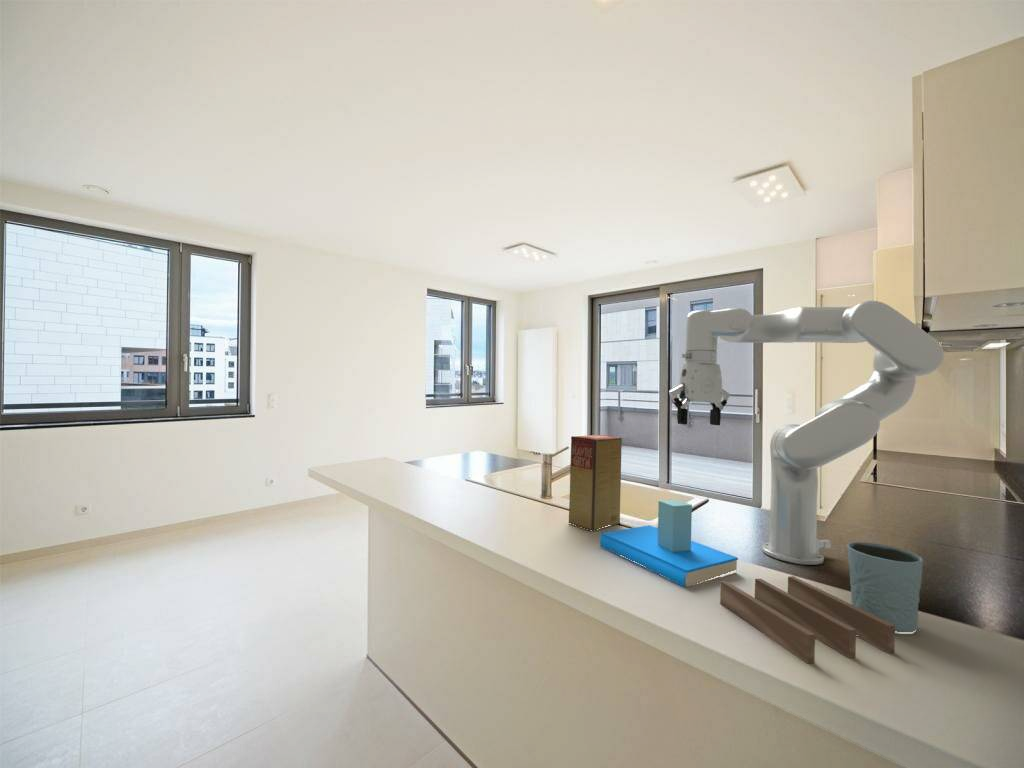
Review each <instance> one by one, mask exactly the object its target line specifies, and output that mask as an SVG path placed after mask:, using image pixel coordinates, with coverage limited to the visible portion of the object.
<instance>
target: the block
mask: <svg viewBox="0 0 1024 768" xmlns="http://www.w3.org/2000/svg"><path fill="white" fill-rule="evenodd" d="M692 509H693V505H692V504H690V503H688V502H685V501H682V500H678V499H666V500H665V499H663V500H658V511H657V512H658V513H657V519H658V520H657V528H658V545H659V546H661V547H663V548H665V549H667V550H669V551H671V552H679V551H688V550H691V541H692V515H693V514H692V513H693V510H692Z"/></svg>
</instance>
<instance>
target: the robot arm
mask: <svg viewBox="0 0 1024 768" xmlns="http://www.w3.org/2000/svg"><path fill="white" fill-rule="evenodd" d="M685 330H686V331H685V332H686V333H685V335H686V336H685V337H686V338H685V352H684V353H682V354H681V358H682V359H684V361H685V363H683V364H682V366H681V373H680V378H679V385H678V386H676V387H675V388H672V389H671V390H670V389H669V391H668V394H669V397H670V399H671V402H672V403H673V404H674V407H675V408H676V409H677V413H676V416H677V417H676V420H677V424H678V425H685V426H686V425H688V409H687V407H688V406H689V404H690V403H692V402H695V403H708V404H709V405H710V407H711V408H712V409H710V411H709V424H710V425H712V426H721V421H722V419H721V417H722V416H721V414H722V413H721V412H722V411H723V410H724V407H725V406H726V405H727V403H728V400H729V398H730V396H731V394H730V392H728V391H726V390H725V389H723V377H722V371H721V370H722V369H721V366H720V364H717V363H718V361H717V360H718V338H720V339H721V340H722V341H725V342H728V343H734V344H735V343H736V344H737V343H739V344H740V343H742V344H743V343H744V344H747V343H749V344H760V343H761V344H762V343H763V344H765V343H770V344H771V343H777V344H778V343H783V344H784V343H785V344H786V343H787V344H788V343H789V344H791V343H830V344H831V343H832V344H837V343H838V344H857V343H858V344H859V343H864V342H867V343H868V344H869V345H870V346H872V347H873V349H875V350H876V353H875V354H874V356H873V371H872V374H871V377H870V378H869V380H867V381H866V382H864V383H863V384H862V385H860V386H858V387H857V388H855V389H853V390H851V391H850V392H848V393H846V394H844V395H842V396H841V397H839V398H836V399H835V400H832V401H830V402H828V403H826V404H824V405H823V406H822V407H820V408H819V409H818V411H817V412H816V413H815V417H814V418H812V419H810V420H808V421H807V422H804V423H803V424H796V423H795V424H794V423H793V424H792V423H790V424H785V425H782V426H781V427H778V429H776V430H775V431H774V432H773V434H772V436H771V439H770V443H769V444H770V445H769V449H770V450H769V453H770V465H771V468H770V469H771V470H770V471H771V476H770V477H771V479H770V481H771V482H770V483H771V484H770V505H769V506H770V510H769V511H770V514H769V541H767V542H765V543H762V545H761V550H762V552H763V553H764V554H766V555H768V557H769V556H770V557H772V558H774V559H777V560H779V561H784V562H787V563H792V564H798V565H804V566H817V565H821V564H823V563H824V560H825V559H824V555H823V554H822V553H820V550H821V549H830V548H832V543H831V541H830V540H828V539H819V538H817V525H818V524H817V523H818V521H817V517H818V494H819V493H818V491H819V489H818V488H819V486H818V485H819V483H818V480H819V479H818V468H820V467H822V466H824V465H826V464H829V463H831V462H833V461H835V460H838V459H839V458H841V457H842V456H845V455H846V454H848V453H850V452H853V451H854V450H856V449H858V448H860V447H862V446H863V445H865V444H867V443H869V442H870V441H872V440H873V438H874V437H876V435H877V434H878V432H879V430H880V426H881V421H883V420H885V419H886V418H887V417H890V416H891V415H893V414H894V413H897V412H898V411H899V410H900V409H902V408H903V407H905V405H907V403H908V402H909V401H910V399H911V398H912V396H913V393H914V390H915V386H916V377H922V376H926V375H930V374H931V373H933V372H935V371H936V370H937V369H939V368H940V367H941V365H942V364H943V362H944V358H945V354H944V349H943V348H942V345H941V344H940V343H939V342H938V341H937V340H936V338H934V337H933V336H931V334H929V333H928V332H926V331H925V330H924V329H922V328H921V327H920V326H918V325H917V324H915V323H914V322H913V321H911V320H910V319H909V318H908V317H906V316H904V315H903V314H902V313H901V312H899V311H898V310H896V309H895V308H894V307H892V306H890V305H889V304H887V303H884V302H882V301H879V300H866V301H862V302H860V303H858V304H856V305H854V306H801V307H795V308H794V307H793V308H790V309H786V310H783V311H779V312H775V313H774V312H773V313H767V314H751V312H749V310H747V309H745V308H741V307H731V308H724V309H718V310H710V309H709V310H707V309H706V310H705V309H700V310H693V311H690V312H689V313H688V314H687V316H686V329H685ZM678 396H679V397H678Z"/></svg>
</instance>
